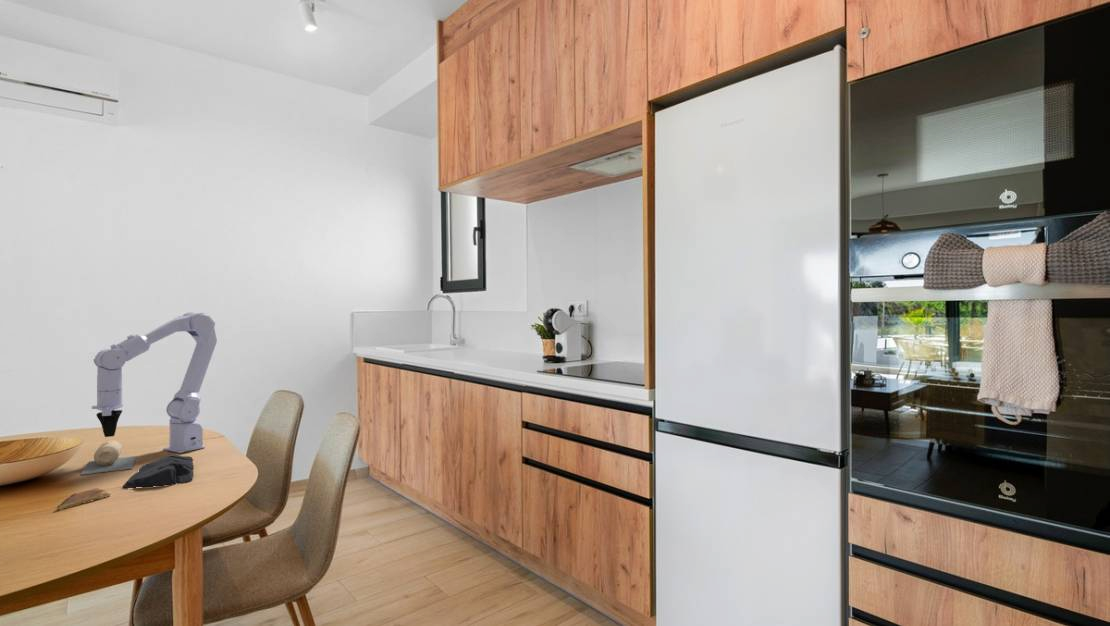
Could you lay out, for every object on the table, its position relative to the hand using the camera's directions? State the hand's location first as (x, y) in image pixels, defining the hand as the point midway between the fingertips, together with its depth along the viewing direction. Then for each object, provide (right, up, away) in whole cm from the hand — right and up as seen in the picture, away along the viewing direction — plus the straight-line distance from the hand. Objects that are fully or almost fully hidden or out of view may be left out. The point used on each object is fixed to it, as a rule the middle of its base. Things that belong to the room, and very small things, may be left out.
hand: (109, 436), depth 162 cm
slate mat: (+3, -8, -4) cm, 9 cm away
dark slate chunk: (+24, -9, -12) cm, 28 cm away
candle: (-2, -5, +3) cm, 6 cm away
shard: (+20, -9, -31) cm, 38 cm away
